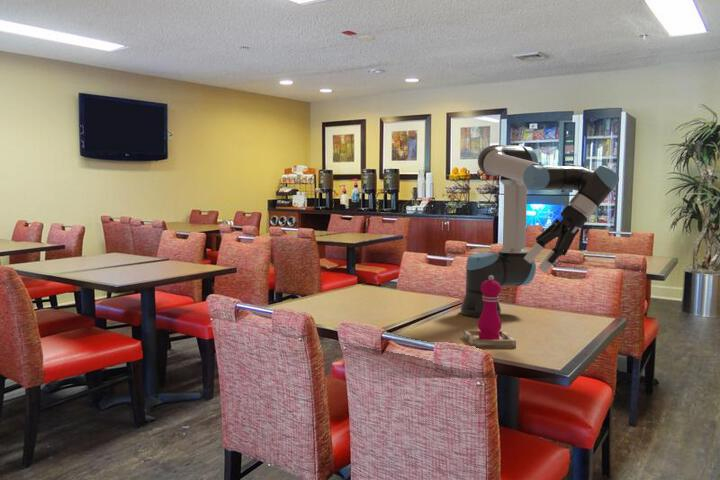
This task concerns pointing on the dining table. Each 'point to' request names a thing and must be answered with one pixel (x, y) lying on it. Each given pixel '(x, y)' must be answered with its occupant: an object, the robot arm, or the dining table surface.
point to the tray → (503, 341)
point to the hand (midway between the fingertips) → (533, 265)
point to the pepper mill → (490, 310)
